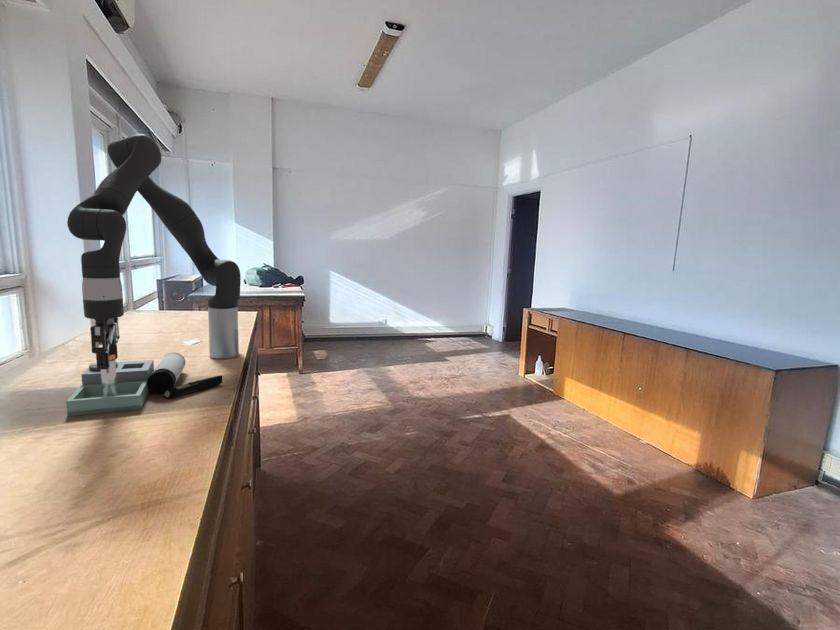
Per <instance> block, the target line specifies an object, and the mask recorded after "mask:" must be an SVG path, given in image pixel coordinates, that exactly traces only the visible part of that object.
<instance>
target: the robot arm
mask: <svg viewBox="0 0 840 630" xmlns="http://www.w3.org/2000/svg"><path fill="white" fill-rule="evenodd" d="M106 150H107V154H108V157H109V159H110V160H111V162H112V164H113V165H114V166H115V169H114V170H113V171H111V172H110V173H109V174H107V176H105V177H104V179H102V180H101V182H100V183H99V185H98V186H97V188H96V190H95V191H94V193H93V194H92V195H90V196H89V197H87V198H85V199H84V200H83V201H81V202H80V203H78V204H77V205H75V207H74V208H72V209H71V211H70V212H69V214H68V217H67V221H66V222H67V223H66V224H67V228H68V230H69V232H70V233H71V235H72V236H74V237H75V238H77V239H78V240H79V239H80V240H85V241H86V240H87V241H104V243H103V245H102V247H100V249H96V250H89V251H88V250H87V251H85V252H83V253H82V254H81V257H80V260H81V261H80V263H81V274H82V275H81V276H82V280H81V281H82V282H81V293H82V294H81V295H82V305H83V307H82V308H83V315H84V317H85V318H86V319H90V320H92V319H93V320H95V324H94V325H93V326H90V329H89V330H90V341H91V353H92V354H95V357H96V360H95V361H97V369H99V370H101V369H108V368H109V354H115V360H117V359H118V358H119V357H118V355H119V354H118V343H119V340H120V338H121V336H120V330H119V329H120V328H119V318H121V317H123V316H124V315H125V312H124V311H125V309H124V296H123V284H122V282H121V270H120V257H121V251H122V246H123V242H124V239H125V235H126V231H127V221H126V220H125V217H124V214H126V212H127V210H128V208H129V206H130V205H131V203H132V200H133V198H134V197H135V195H136V193H139V194H140V195H141V197H142V198H143V199H144V200H145V202H147V204H148V205H149V207H151V209H152V210H153V212H155V214H156V216H157V217H158V218H159V219H160V221H161V222H162V224H163V225H164V226H165V228H166V229H167V230H168V232H169V233H170V234H171V235H172V236H173V238H174V239H175V240H176V242H178V244H179V245H180V247H181V248H182V249H183V250H184V252H186V254H187V255H188V257H189V258H190V260H191V261H192V263H193V264H194V266H195V267H196V270H197V271H198V273H199V274H200V275H201V278H202V279H203V280H204V281H205V282H206V284H208V285H210V286H213V287H215V294H214V295H213V296H212V297H209V298H208V300H207V313H208V344H209V345H208V346H209V357H210V358H212V359H219V360H220V359H222V360H223V359H224V360H225V359H232V358H235V357H237V358H238V357H239V356H240V355H239V354H240V352H239V351H240V349H239V348H240V347H239V343H240V342H239V313H238V312H239V311H238V309H239V308H238V304H239V300H240V297H241V279H242V278H241V270H240V268H239V265H238V264H237V263H236V262H235V261H233V260H228V259H227V260H226V259H221V258H219V257H217V256H216V254H215V253H214V252H213V250H212V249H211V248H210V246H209V245H208V243H207V240H206V236H205V229H204V225H203V223H202V221H201V220H200V218H199V216H198V215H197V214H196V213H195V211H194V210H193V208H192V207H191V206H190V205H189V203H187V202H186V201H185V200H183V198H180V197H178V196H177V195H176V194H173V193H171V192H170V191H168V190H166V189H164V188H163V187H161V186H159V185H158V183H155V181H153V178H151V177H150V175H151V174H152V173H153V172H155V170H157V168H159V166H160V165H161V163H162V153H161V149H160V148H159V146H158V144H157V143H156V142H155V141H154V139H153V138H151V137H150V136H149V135H147V134H143V133H137V134H136V133H135V134H133V135H130V136H126V137H124V138H121V139H117V140H114V141H112V142H110V143H109V144H108V145H107V149H106ZM100 346H101V347H100Z"/></svg>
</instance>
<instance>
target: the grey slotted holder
mask: <svg viewBox="0 0 840 630" xmlns="http://www.w3.org/2000/svg"><path fill="white" fill-rule="evenodd" d="M115 361H116V376H117V383H122V382H136V381H147V380H148V378H149V377H150V375H151V374H152V372H153V371H154V370H155V363H154V361H155V360H154V359H148V360H130V361H129V360H128V361H117V359H115ZM80 376H81V383H82V384H81V385H94V384H102V382H101V370H99V369H97V360H95V361H92V362H90V363H89V366H88V367H87V368H86V369H85V371H83V372H82V373H81V375H80ZM150 391H151V390H150V389H149V388H148V393H150Z"/></svg>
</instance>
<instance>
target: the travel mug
mask: <svg viewBox="0 0 840 630" xmlns="http://www.w3.org/2000/svg"><path fill="white" fill-rule="evenodd" d="M185 366H186V359H185V357H184V356H183V355H182V354H181V353H180V352H179V353H178V352H170V353H167V354H165V355H164V356H163V358H162V359H161V361H160V362H159V363H158V364H157V366H155V367H154V371H153V372H152V374H151V375H150V377H149V378H148V380H147V385H148V388H149V389H150V391H152V392H153V393H155V394H160V395H161V394H162V395H163V394H164V392H165V390H166V389H167V388H170V387H171V386H175V385H176V383H177V381H178V379H179V378H180V375H181V374H182V373H183V370H184V368H185Z"/></svg>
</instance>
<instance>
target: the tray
mask: <svg viewBox="0 0 840 630" xmlns="http://www.w3.org/2000/svg"><path fill="white" fill-rule="evenodd" d="M117 390H118V396H107V397H103V396H102V384H94V385H82V384H81V385H80V386H79V387H78V388H77V389H76V390H75V391H74V392H73V394H72V395H71V396H70V397H68V398H67V400H65V402H66V405H65V406H66V415H67V417H71V416H72V417H73V416H82V415H93V414H94V415H95V414H103V413H114V412H125V411H137V410H142V408H143V406H144V404H145V401H146V399H147V397H148V395H149V392H148V385H147V381H136V382H122V383H117Z"/></svg>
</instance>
